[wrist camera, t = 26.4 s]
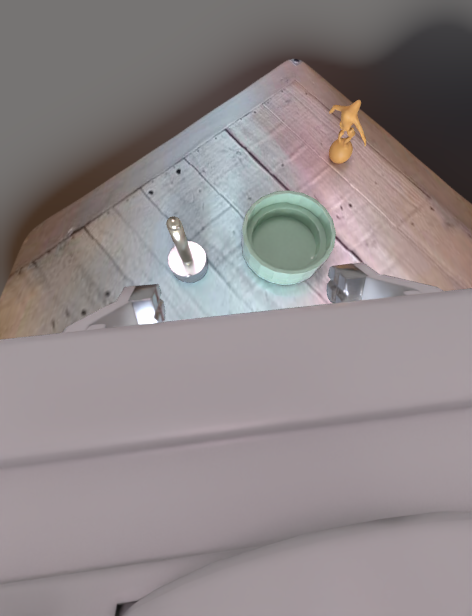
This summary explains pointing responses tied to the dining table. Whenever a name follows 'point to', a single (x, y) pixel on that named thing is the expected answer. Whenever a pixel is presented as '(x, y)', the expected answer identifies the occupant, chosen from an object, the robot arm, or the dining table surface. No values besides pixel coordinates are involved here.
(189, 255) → the meat pounder
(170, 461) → the robot arm
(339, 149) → the figurine
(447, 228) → the dining table surface
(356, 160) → the dining table surface
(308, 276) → the bowl
